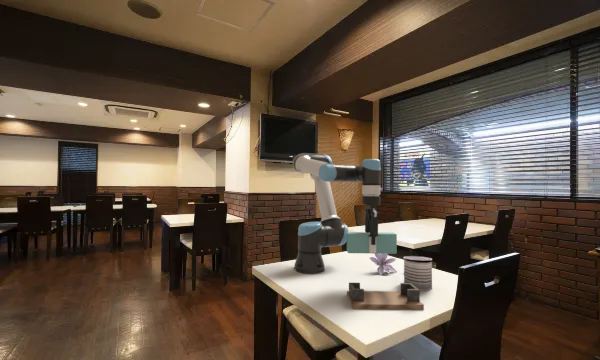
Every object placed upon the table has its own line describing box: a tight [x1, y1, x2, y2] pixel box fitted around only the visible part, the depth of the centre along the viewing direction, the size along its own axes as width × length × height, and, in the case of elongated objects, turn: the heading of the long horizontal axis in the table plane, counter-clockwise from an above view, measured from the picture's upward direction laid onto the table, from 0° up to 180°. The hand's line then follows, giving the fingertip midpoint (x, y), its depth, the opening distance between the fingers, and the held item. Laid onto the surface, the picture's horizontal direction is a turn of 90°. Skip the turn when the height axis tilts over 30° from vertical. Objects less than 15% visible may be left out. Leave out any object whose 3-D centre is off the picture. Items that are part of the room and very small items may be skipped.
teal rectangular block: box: [346, 231, 398, 255], centre depth 115 cm, size 20×4×8 cm, turn 90°
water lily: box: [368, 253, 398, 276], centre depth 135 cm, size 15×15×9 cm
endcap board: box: [346, 282, 425, 310], centre depth 98 cm, size 24×12×6 cm, turn 90°
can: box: [403, 255, 433, 291], centre depth 115 cm, size 11×11×12 cm
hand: (371, 251), depth 115 cm, fingers closed on teal rectangular block, 4 cm apart
